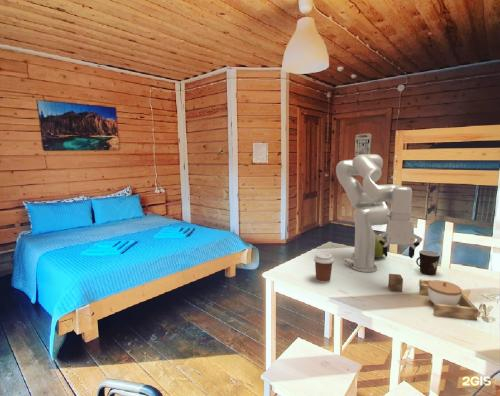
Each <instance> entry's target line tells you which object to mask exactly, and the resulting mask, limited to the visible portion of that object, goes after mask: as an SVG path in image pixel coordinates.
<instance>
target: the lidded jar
mask: <svg viewBox="0 0 500 396" xmlns="http://www.w3.org/2000/svg"><path fill="white" fill-rule="evenodd" d="M461 293H462V294H463V292H462V288H461V287H460V286H459V285H457V284H455V283H452V282H449V281H445V280H437V279H434V280H431V281H430V282H428V295H427V296H428V298H429V300H430V301H431V303H433V305H434V303H435V304H445V305H454V306H458V305H459V304H458V303H459V301H460V298H461Z"/></svg>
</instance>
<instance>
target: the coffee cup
mask: <svg viewBox="0 0 500 396" xmlns="http://www.w3.org/2000/svg"><path fill="white" fill-rule="evenodd" d="M313 261H314V265H315V280H316V281H317V282H318V283H322V284H326V283H330V282H331V275H332V270H333V263H334V262H335V258H333V256H332V254H331V253H328V252H317V253H316V254H315V256H314V257H313Z"/></svg>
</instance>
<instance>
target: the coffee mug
mask: <svg viewBox="0 0 500 396" xmlns="http://www.w3.org/2000/svg"><path fill="white" fill-rule="evenodd" d="M418 252H419V253H418V254H419V256H418V257H417V258H416V261H415V263H416V265H417V266H418V267H419V271H420V273H421V274H423V275H426V276H435V275H436V274H437V271H438V266H439V261H440V257H441V254H440V253H439V252H437V251H435V250H429V249H421V250H419V251H418ZM418 262H419V263H418Z"/></svg>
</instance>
